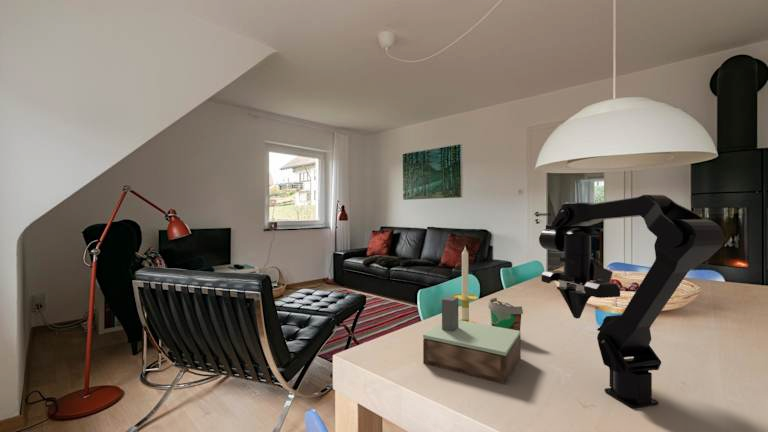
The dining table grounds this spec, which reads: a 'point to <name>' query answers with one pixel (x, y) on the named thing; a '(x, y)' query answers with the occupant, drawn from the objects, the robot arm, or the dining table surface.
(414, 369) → the dining table surface
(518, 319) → the food container
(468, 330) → the lid
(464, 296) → the candle
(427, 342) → the walnut box
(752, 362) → the dining table surface
